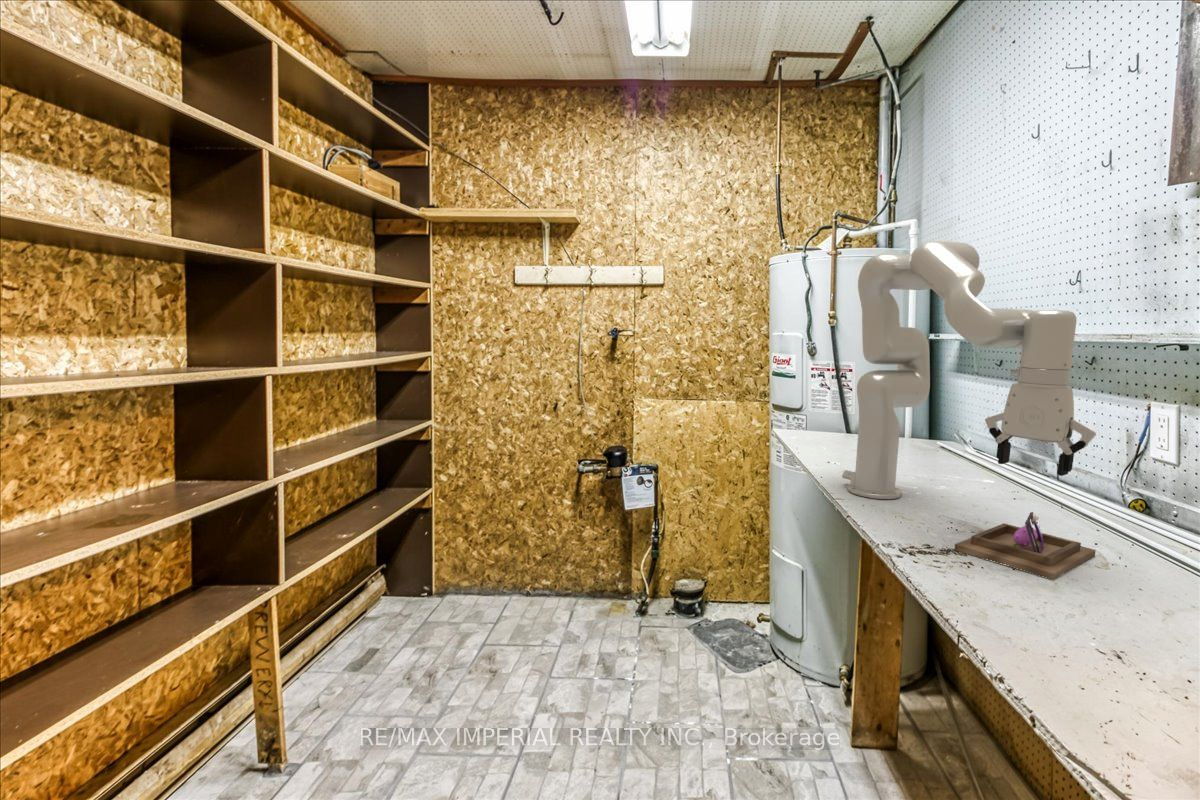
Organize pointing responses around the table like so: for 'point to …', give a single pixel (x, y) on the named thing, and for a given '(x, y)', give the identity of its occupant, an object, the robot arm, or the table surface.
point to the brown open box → (1026, 551)
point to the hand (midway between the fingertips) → (1031, 468)
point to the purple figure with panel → (1029, 534)
